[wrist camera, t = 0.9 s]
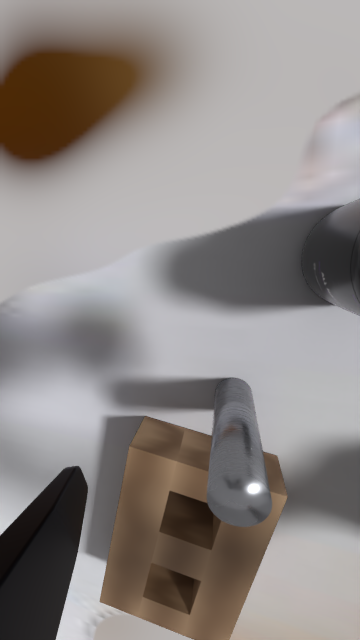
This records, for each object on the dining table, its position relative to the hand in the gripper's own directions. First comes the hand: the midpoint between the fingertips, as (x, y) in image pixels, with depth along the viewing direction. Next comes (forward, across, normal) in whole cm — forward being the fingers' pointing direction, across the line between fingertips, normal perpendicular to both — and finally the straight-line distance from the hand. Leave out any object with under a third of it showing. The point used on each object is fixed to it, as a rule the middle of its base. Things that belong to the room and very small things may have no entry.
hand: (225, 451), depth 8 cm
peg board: (+12, +4, +19) cm, 23 cm away
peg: (+12, -2, +7) cm, 14 cm away
